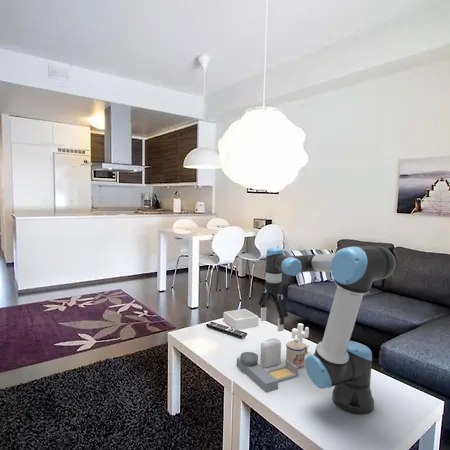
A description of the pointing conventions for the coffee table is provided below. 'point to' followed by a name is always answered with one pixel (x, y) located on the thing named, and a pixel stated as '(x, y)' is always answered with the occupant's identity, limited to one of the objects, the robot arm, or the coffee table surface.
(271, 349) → the photo printer
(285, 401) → the coffee table surface
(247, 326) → the box
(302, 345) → the teacup with lid
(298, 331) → the figurine
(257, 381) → the deck
